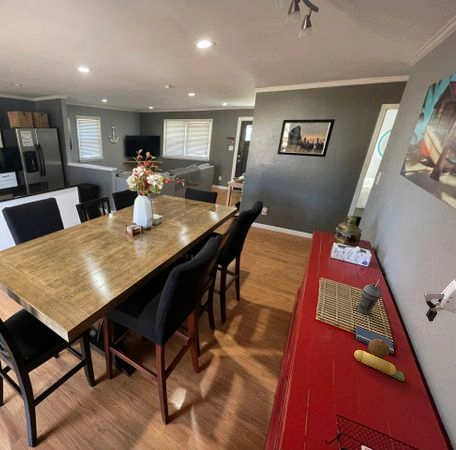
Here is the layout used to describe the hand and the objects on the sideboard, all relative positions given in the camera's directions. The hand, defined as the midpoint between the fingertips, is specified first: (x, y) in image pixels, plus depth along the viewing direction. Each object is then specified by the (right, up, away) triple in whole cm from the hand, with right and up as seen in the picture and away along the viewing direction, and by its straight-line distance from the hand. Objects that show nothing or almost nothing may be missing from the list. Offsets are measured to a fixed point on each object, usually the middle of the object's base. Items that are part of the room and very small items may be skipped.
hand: (450, 326), depth 78 cm
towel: (-2, -17, +26) cm, 31 cm away
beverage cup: (+9, -11, +43) cm, 45 cm away
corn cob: (-11, -22, +14) cm, 29 cm away
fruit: (-7, -20, +19) cm, 29 cm away
